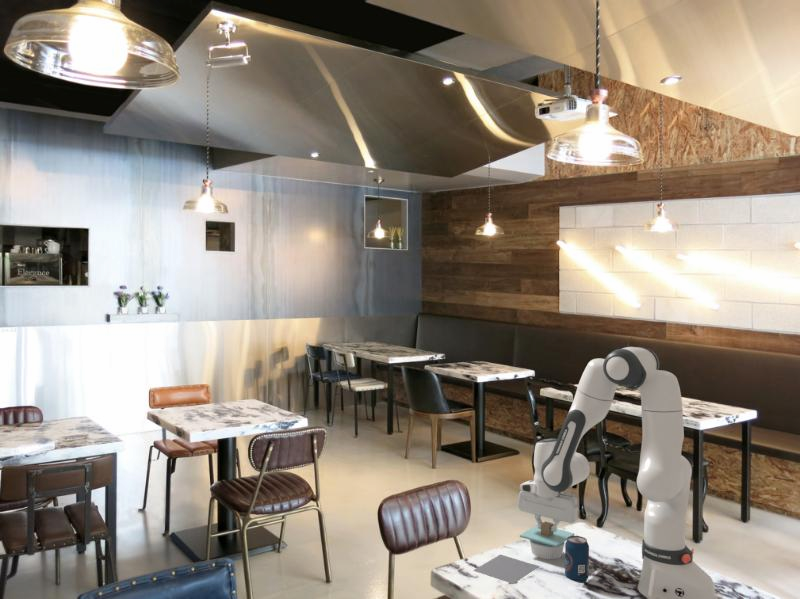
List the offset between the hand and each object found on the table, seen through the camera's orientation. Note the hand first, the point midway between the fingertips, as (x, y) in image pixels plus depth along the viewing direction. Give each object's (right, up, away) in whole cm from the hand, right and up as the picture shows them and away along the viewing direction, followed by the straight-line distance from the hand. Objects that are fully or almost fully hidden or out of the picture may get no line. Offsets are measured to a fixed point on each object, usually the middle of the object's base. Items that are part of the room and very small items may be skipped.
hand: (547, 530), depth 212 cm
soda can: (+5, -9, -17) cm, 20 cm away
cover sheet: (0, -2, 0) cm, 2 cm away
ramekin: (0, -9, 0) cm, 9 cm away
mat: (-15, -8, -12) cm, 21 cm away
